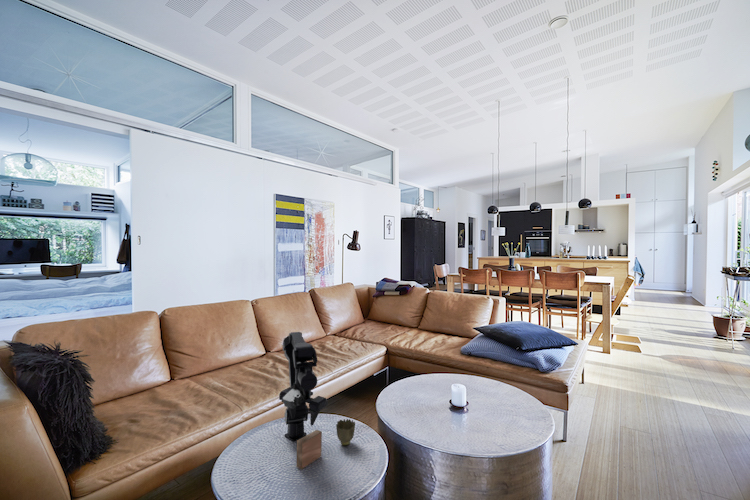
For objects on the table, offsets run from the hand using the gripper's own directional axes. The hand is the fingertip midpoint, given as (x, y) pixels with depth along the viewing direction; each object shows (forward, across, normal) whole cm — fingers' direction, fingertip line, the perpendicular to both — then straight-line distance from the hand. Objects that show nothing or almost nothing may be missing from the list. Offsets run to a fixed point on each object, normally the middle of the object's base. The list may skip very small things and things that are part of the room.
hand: (302, 421), depth 121 cm
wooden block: (+12, +5, -2) cm, 13 cm away
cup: (+12, +10, +14) cm, 21 cm away
